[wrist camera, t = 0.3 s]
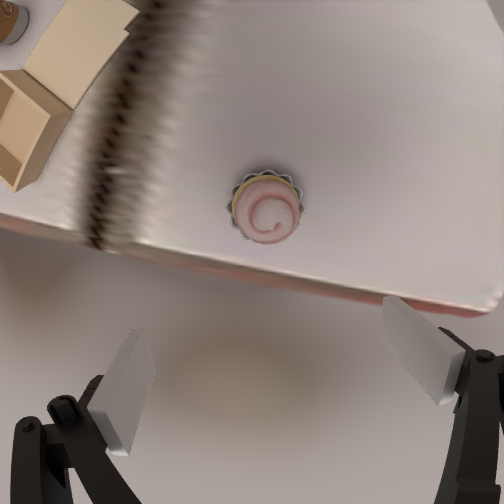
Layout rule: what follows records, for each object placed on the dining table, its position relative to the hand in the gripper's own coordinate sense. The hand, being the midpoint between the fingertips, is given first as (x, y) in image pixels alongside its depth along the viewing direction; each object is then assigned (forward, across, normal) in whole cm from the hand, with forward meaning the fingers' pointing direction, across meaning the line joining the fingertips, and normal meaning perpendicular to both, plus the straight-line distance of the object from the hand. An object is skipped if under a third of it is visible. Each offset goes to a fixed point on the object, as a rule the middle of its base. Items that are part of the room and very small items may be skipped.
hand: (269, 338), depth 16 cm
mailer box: (+22, -24, +26) cm, 42 cm away
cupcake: (+26, +3, +6) cm, 27 cm away
